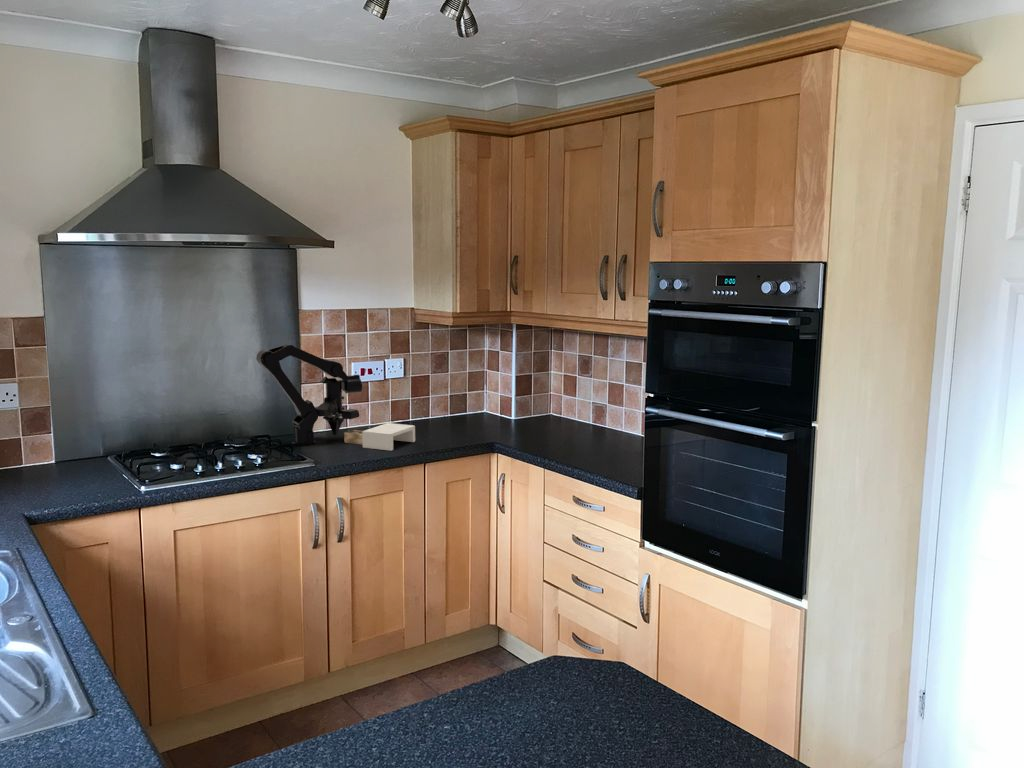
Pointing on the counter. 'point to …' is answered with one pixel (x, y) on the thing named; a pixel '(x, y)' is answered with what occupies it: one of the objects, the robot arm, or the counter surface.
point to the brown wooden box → (353, 437)
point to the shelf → (387, 435)
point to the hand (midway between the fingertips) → (335, 435)
